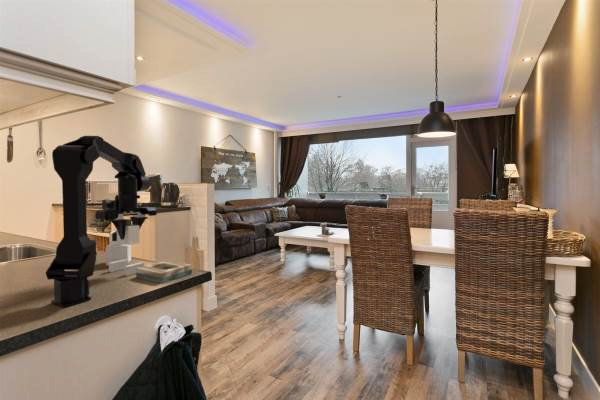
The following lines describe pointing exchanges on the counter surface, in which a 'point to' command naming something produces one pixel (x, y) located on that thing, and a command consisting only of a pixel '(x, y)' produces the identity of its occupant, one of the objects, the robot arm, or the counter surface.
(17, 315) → the counter surface
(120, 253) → the medicine bottle
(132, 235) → the plug
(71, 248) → the robot arm
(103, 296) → the counter surface
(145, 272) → the port block
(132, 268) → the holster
